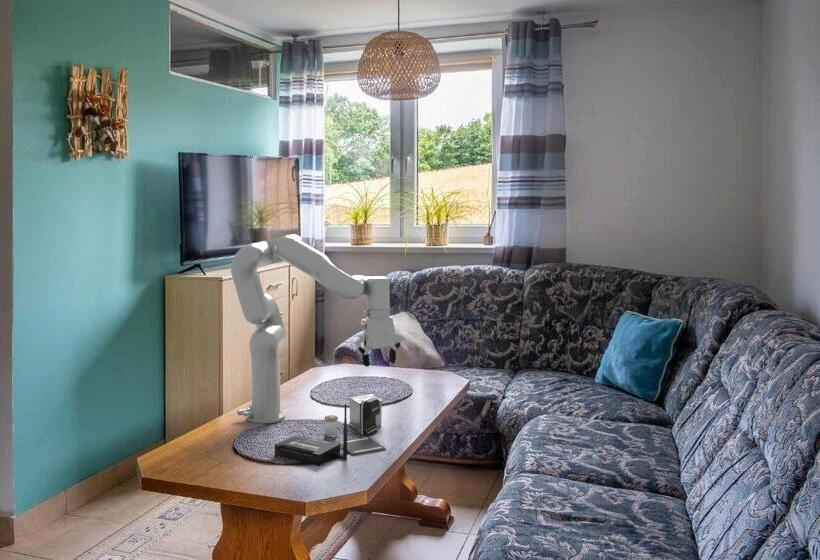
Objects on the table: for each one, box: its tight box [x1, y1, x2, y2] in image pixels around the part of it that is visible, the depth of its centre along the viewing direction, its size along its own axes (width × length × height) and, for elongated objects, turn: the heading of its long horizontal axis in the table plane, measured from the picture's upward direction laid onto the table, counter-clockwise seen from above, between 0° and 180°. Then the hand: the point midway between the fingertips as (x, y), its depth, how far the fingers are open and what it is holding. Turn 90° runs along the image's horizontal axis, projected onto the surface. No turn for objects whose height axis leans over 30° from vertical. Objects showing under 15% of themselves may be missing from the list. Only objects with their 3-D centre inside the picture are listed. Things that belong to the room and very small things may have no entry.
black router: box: [274, 403, 348, 467], centre depth 208 cm, size 20×14×17 cm
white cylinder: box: [324, 414, 339, 436], centre depth 228 cm, size 4×4×6 cm
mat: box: [336, 436, 387, 457], centre depth 218 cm, size 11×11×1 cm
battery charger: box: [359, 397, 380, 437], centre depth 230 cm, size 7×4×11 cm, turn 149°
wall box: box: [348, 393, 384, 430], centre depth 240 cm, size 9×9×9 cm
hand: (379, 364), depth 239 cm, fingers open, 9 cm apart
